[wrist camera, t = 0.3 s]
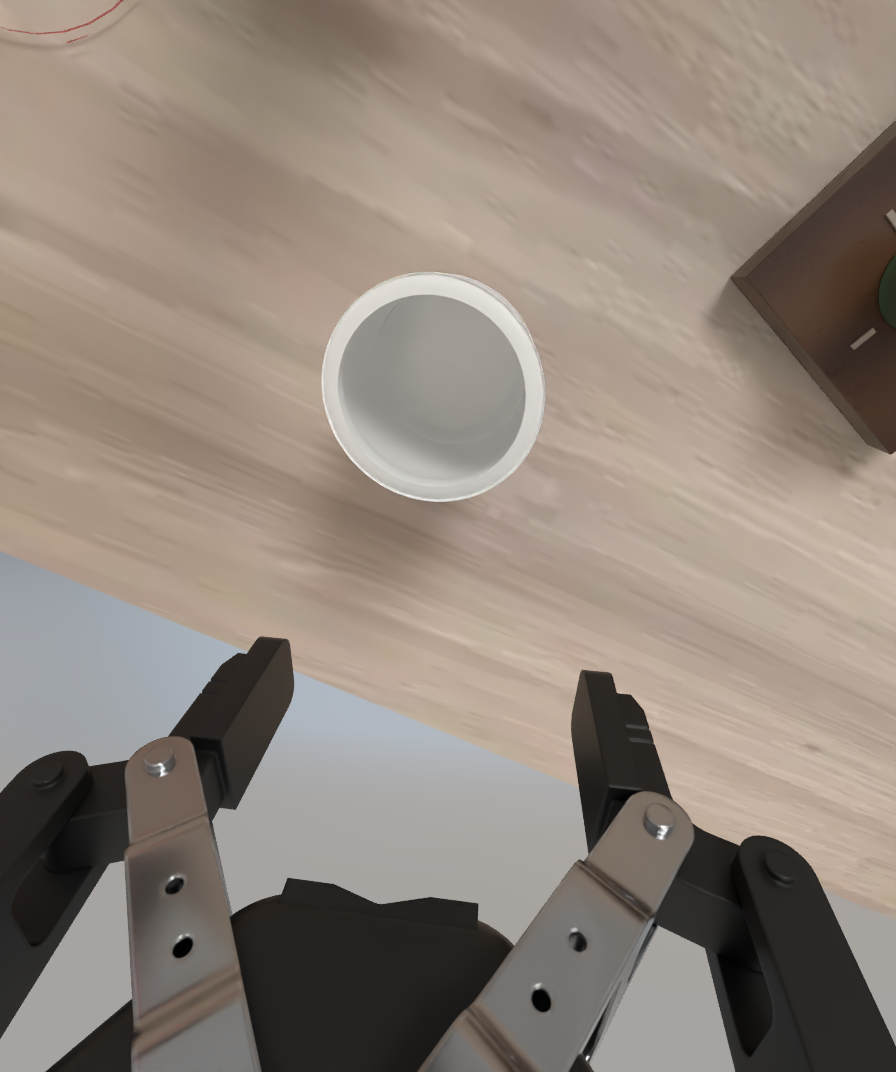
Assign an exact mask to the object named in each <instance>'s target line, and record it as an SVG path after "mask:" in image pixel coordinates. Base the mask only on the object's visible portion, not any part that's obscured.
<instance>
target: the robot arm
mask: <svg viewBox="0 0 896 1072" xmlns="http://www.w3.org/2000/svg"><path fill="white" fill-rule="evenodd" d="M293 691H294V676H293V667H292V658H291V649H290V643H289V641H288V640H287V639H281V638H271V637H259V638H258V639H257V640H256V641H255V643H254V644H253V646H252V647H251V648H250V650H249V651H248V653H247V654H242V653H238V654H236V655H235V656H233V657H232V658H230V659H229V660H228V661H226V662H225V663H223V664H222V665H221V666H220V667H219V669H218V670H217V672H216V673H215V674H214V676H213V677H212V678H211V681H210V682H208V684H207V685H206V686H205V688H204V689H203V691H202V694H201V693H200V694H199V696H198V697H197V698H196V700H195V701H194V702H193V704H192V705H191V707H190V708H189V709H188V710H187V712H186V713H185V714H184V716H183V717H182V718H181V720H180V721H179V722H178V724H177V725H176V727H175V728H174V729H173V730H172V732H171V733H170V734H169V736H168V737H164V738H160V739H157V740H154V741H152V742H150V743H148V744H146V745H145V746H143V747H141V748H140V749H139V750H138V751H136V752H135V753H134V755H133V756H132V757H131V758H130V760H126V761H121V762H114V763H108V764H101V765H95V766H88V763H87V760H86V758H85V757H84V756H83V755H82V754H81V753H78V752H76V751H60V752H56V753H52V754H49V755H46V756H44V757H42V758H39V759H38V760H36V761H34V762H32V763H31V764H29V765H28V766H26V767H25V768H24V769H23V770H21V772H19V773H18V774H17V775H16V776H15V778H14V779H13V780H12V781H11V782H10V783H9V784H8V785H7V786H6V787H5V788H4V789H3V791H2V792H1V793H0V1038H1V1037H2V1035H3V1033H4V1032H5V1030H6V1029H7V1027H8V1026H9V1024H10V1022H11V1021H12V1019H13V1018H14V1016H15V1014H16V1012H17V1011H18V1009H19V1008H20V1006H21V1005H22V1003H23V1001H24V1000H25V998H26V997H27V995H28V993H29V992H30V990H31V989H32V987H33V985H34V984H35V982H36V981H37V979H38V977H39V976H40V974H41V972H42V971H43V969H44V968H45V966H46V964H47V963H48V961H49V960H50V958H51V956H52V955H53V953H54V951H55V950H56V948H57V947H58V945H59V943H60V942H61V940H62V939H63V937H64V935H65V934H66V932H67V931H68V929H69V927H70V926H71V924H72V923H73V921H74V919H75V918H76V916H77V914H78V913H79V911H80V910H81V908H82V907H83V905H84V903H85V902H86V900H87V898H88V897H89V895H90V894H91V892H92V890H93V889H94V887H95V886H96V884H97V882H98V881H99V879H100V878H101V876H102V874H103V873H104V871H105V870H106V868H107V866H108V865H109V863H114V862H119V861H124V862H125V879H126V895H127V896H126V897H127V915H128V930H129V949H130V968H131V985H132V999H131V1000H130V1001H129V1002H127V1003H126V1004H125V1005H124V1006H123V1007H121V1008H120V1009H119V1010H118V1011H117V1012H116V1013H115V1014H113V1015H112V1016H111V1017H110V1018H109V1019H107V1020H106V1021H105V1022H104V1023H103V1024H101V1025H100V1026H99V1027H98V1028H97V1029H95V1030H94V1031H93V1032H92V1033H91V1034H90V1035H88V1036H87V1037H86V1038H85V1039H84V1040H82V1041H81V1042H80V1043H79V1044H78V1045H77V1046H75V1047H74V1048H73V1049H72V1050H71V1051H69V1052H68V1053H67V1054H66V1055H65V1056H63V1057H62V1058H61V1059H60V1060H59V1061H58V1062H56V1063H55V1064H54V1065H53V1066H52V1067H51V1068H49V1069H48V1070H47V1071H46V1072H594V1071H593V1070H592V1068H591V1066H590V1063H591V1061H592V1059H593V1058H594V1055H595V1054H596V1052H597V1050H598V1048H599V1046H600V1044H601V1042H602V1040H603V1038H604V1036H605V1034H606V1032H607V1030H608V1028H609V1025H610V1023H611V1021H612V1019H613V1017H614V1015H615V1013H616V1010H617V1008H618V1006H619V1004H620V1002H621V999H622V997H623V995H624V993H625V991H626V989H627V987H628V985H629V983H630V982H631V980H632V978H633V976H634V974H635V972H636V970H637V968H638V966H639V964H640V962H641V960H642V958H643V956H644V954H645V952H646V950H647V948H648V946H649V944H650V942H651V940H652V938H653V937H654V934H655V933H656V931H657V929H658V927H659V926H660V927H663V928H665V929H667V930H669V931H671V932H673V933H675V934H677V935H679V936H681V937H684V938H685V939H687V940H690V941H691V942H694V943H696V944H698V945H700V946H702V947H704V948H705V950H706V954H707V958H708V962H709V966H710V970H711V974H712V978H713V982H714V987H715V991H716V994H717V999H718V1003H719V1007H720V1011H721V1015H722V1019H723V1023H724V1027H725V1031H726V1035H727V1040H728V1044H729V1048H730V1052H731V1056H732V1059H733V1064H734V1068H735V1072H896V1046H895V1044H894V1042H893V1039H892V1037H891V1035H890V1033H889V1031H888V1029H887V1026H886V1024H885V1023H884V1020H883V1018H882V1016H881V1014H880V1011H879V1009H878V1007H877V1005H876V1003H875V1001H874V998H873V996H872V994H871V992H870V990H869V988H868V986H867V983H866V981H865V979H864V977H863V975H862V973H861V971H860V968H859V966H858V964H857V962H856V960H855V958H854V956H853V953H852V951H851V949H850V947H849V945H848V943H847V940H846V938H845V936H844V934H843V932H842V930H841V927H840V925H839V923H838V921H837V919H836V917H835V915H834V912H833V910H832V908H831V906H830V904H829V902H828V899H827V897H826V895H825V893H824V891H823V889H822V886H821V884H820V882H819V880H818V878H817V876H816V874H815V872H814V870H813V869H812V868H811V866H810V865H809V864H808V862H807V861H806V860H805V859H804V858H803V857H802V856H801V855H800V854H799V853H798V852H796V851H795V850H794V849H792V848H791V847H789V846H788V845H786V844H785V843H783V842H781V841H779V840H776V839H773V838H771V837H766V836H751V837H748V838H747V839H745V840H744V841H743V842H742V843H741V845H740V846H739V845H737V844H734V843H732V842H729V841H727V840H724V839H722V838H719V837H717V836H714V835H712V834H710V833H708V832H705V831H703V830H702V829H700V828H698V827H697V826H695V825H694V824H693V823H692V822H691V819H690V818H689V816H688V815H687V813H686V812H685V811H684V810H683V808H682V807H681V806H679V805H678V804H677V803H676V802H675V801H673V799H672V797H671V794H670V791H669V788H668V785H667V781H666V778H665V775H664V772H663V769H662V766H661V763H660V760H659V756H658V753H657V750H656V747H655V745H654V744H653V738H652V735H651V732H650V731H649V725H648V722H647V719H646V716H645V713H644V710H643V709H642V708H641V707H640V705H639V704H638V703H637V702H636V700H635V699H634V698H633V697H632V696H631V695H628V694H618V693H617V692H616V688H615V684H614V680H613V677H612V674H611V673H609V672H599V671H589V670H582V671H581V673H580V677H579V682H578V687H577V692H576V696H575V701H574V706H573V711H572V720H571V734H572V742H573V749H574V756H575V763H576V770H577V777H578V784H579V791H580V797H581V805H582V812H583V819H584V825H585V832H586V839H587V846H588V853H589V855H588V857H587V858H586V859H585V860H584V861H582V860H578V861H577V862H576V863H574V865H573V866H572V867H571V869H570V870H569V871H568V873H567V874H566V875H565V877H564V878H563V879H562V881H561V882H560V884H559V885H558V886H557V888H556V889H555V891H554V892H553V893H552V895H551V896H550V897H549V899H548V900H547V902H546V903H545V904H544V906H543V907H542V909H541V910H540V911H539V913H538V914H537V916H536V917H535V918H534V920H533V921H532V922H531V924H530V925H529V927H528V928H527V929H526V931H525V932H524V934H523V935H522V936H521V938H520V939H519V940H518V942H517V943H516V945H515V946H514V945H513V944H512V943H511V942H510V941H509V940H508V939H507V938H506V937H504V936H503V935H502V934H500V932H498V931H497V930H495V929H494V928H492V927H490V926H489V925H487V924H485V923H483V922H481V921H479V920H478V904H477V903H470V902H463V901H455V900H447V899H440V898H433V897H428V898H422V899H415V900H408V901H401V902H395V903H387V904H377V903H374V902H372V901H369V900H367V899H365V898H363V897H361V896H358V895H356V894H354V893H352V892H350V891H347V890H345V889H343V888H341V887H339V886H337V885H334V884H328V883H322V882H314V881H307V880H299V879H292V878H288V879H287V881H286V884H285V887H284V889H283V892H282V894H281V895H276V896H272V897H268V898H265V899H262V900H259V901H257V902H254V903H252V904H250V905H248V906H246V907H244V908H243V909H241V910H239V911H238V912H236V913H235V914H233V915H232V910H231V906H230V902H229V897H228V893H227V888H226V884H225V879H224V874H223V870H222V865H221V861H220V856H219V851H218V847H217V842H216V837H215V833H214V828H213V824H212V820H213V819H214V817H215V815H216V813H217V811H218V809H219V808H227V809H234V810H236V808H237V806H238V804H239V802H240V800H241V798H242V796H243V795H244V793H245V791H246V789H247V787H248V785H249V783H250V781H251V779H252V777H253V775H254V773H255V771H256V769H257V767H258V765H259V763H260V762H261V760H262V757H263V756H264V754H265V752H266V750H267V748H268V746H269V744H270V742H271V740H272V738H273V736H274V734H275V732H276V730H277V728H278V726H279V724H280V723H281V721H282V718H283V717H284V715H285V713H286V711H287V709H288V707H289V704H290V703H291V700H292V696H293Z"/></svg>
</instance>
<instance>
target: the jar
mask: <svg viewBox="0 0 896 1072" xmlns="http://www.w3.org/2000/svg"><path fill="white" fill-rule="evenodd" d="M322 395H323V402H324V407H325V411H326V414H327V418H328V421H329V423H330V426H331V428H332V431H333V433H334V435H335V437H336V439H337V440H338V442H339V444H340V445H341V447H342V448H343V450H344V451H345V453H346V454H347V455H348V457H349V458H350V459H351V460H352V461H353V462H354V464H355V465H356V466H357V467H358V468H359V469H360V470H361V471H363V472H364V473H365V474H366V475H367V476H369V477H370V478H371V479H372V480H374V481H375V482H377V483H378V484H380V485H382V486H383V487H385V488H387V489H389V490H391V491H393V492H395V493H398V494H400V495H403V496H406V497H410V498H413V499H418V500H423V501H433V502H447V501H456V500H462V499H466V498H470V497H473V496H476V495H479V494H481V493H483V492H485V491H487V490H489V489H491V488H493V487H495V486H496V485H498V484H499V483H501V482H502V481H503V480H505V479H506V478H507V477H508V476H510V475H511V474H512V473H513V472H514V471H515V470H516V469H517V468H518V467H519V465H520V464H521V463H522V462H523V460H524V459H525V458H526V456H527V455H528V453H529V452H530V450H531V448H532V446H533V444H534V442H535V440H536V438H537V435H538V433H539V430H540V427H541V423H542V419H543V414H544V408H545V380H544V373H543V368H542V364H541V360H540V357H539V354H538V351H537V349H536V346H535V344H534V342H533V339H532V337H531V334H530V332H529V330H528V328H527V326H526V324H525V322H524V321H523V319H522V317H521V316H520V315H519V313H518V312H517V311H516V309H515V308H514V307H513V306H512V305H511V304H510V303H509V302H508V301H507V300H506V299H505V298H504V297H503V296H502V295H500V294H499V293H498V292H497V291H495V290H494V289H492V288H491V287H489V286H487V285H485V284H483V283H481V282H479V281H477V280H474V279H471V278H468V277H465V276H461V275H455V274H446V273H439V272H416V273H410V274H405V275H401V276H397V277H394V278H391V279H389V280H386V281H384V282H382V283H380V284H378V285H376V286H374V287H373V288H371V289H370V290H368V291H367V292H365V293H364V294H363V295H362V296H360V297H359V298H358V299H357V300H356V301H355V302H354V303H353V304H352V305H351V306H350V307H349V308H348V309H347V310H346V311H345V313H344V314H343V315H342V317H341V318H340V320H339V321H338V323H337V325H336V326H335V328H334V330H333V332H332V334H331V337H330V339H329V342H328V344H327V348H326V351H325V355H324V360H323V366H322Z"/></svg>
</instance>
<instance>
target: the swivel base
mask: <svg viewBox="0 0 896 1072" xmlns="http://www.w3.org/2000/svg"><path fill="white" fill-rule="evenodd" d="M895 254H896V121H895V122H894V123H893V124H892V125H891V126H889V127H888V128H887V129H886V130H885V131H884V132H883V133H882V134H881V135H880V136H879V137H878V138H877V139H876V140H875V141H874V142H873V143H872V144H870V145H869V146H868V147H867V148H866V149H865V150H864V151H863V152H862V153H861V154H860V155H859V156H858V157H857V158H856V159H855V160H854V161H853V162H851V163H850V164H849V165H848V166H847V167H846V168H845V169H844V170H843V171H842V172H841V173H840V174H839V175H838V176H837V177H836V178H835V179H834V180H832V181H831V182H830V183H829V184H828V185H827V186H826V187H825V188H824V189H823V190H822V191H821V192H820V193H819V194H818V195H817V196H816V197H815V198H813V199H812V200H811V201H810V202H809V203H808V204H807V205H806V206H805V207H804V208H803V209H802V210H801V211H800V212H799V213H798V214H797V215H796V216H794V217H793V218H792V219H791V220H790V221H789V222H788V223H787V224H786V225H785V226H784V227H783V228H782V229H781V230H780V231H779V232H778V233H777V234H775V235H774V236H773V237H772V238H771V239H770V240H769V241H768V242H767V243H766V244H765V245H764V246H763V247H762V248H761V249H760V250H759V251H758V252H756V253H755V254H754V255H753V256H752V257H751V258H750V259H749V260H748V261H747V262H746V263H745V264H744V265H743V266H742V267H741V268H740V269H739V270H737V271H736V272H735V273H734V274H733V275H732V276H731V279H732V280H733V282H734V283H735V284H736V285H737V286H738V288H739V289H740V290H741V291H742V292H743V294H744V295H745V296H746V297H747V299H748V300H749V301H750V302H751V303H752V305H753V306H754V307H755V308H756V309H757V311H758V312H759V313H760V314H761V315H762V317H763V318H764V319H765V320H766V322H767V323H768V324H769V325H770V326H771V328H772V329H773V330H774V331H775V332H776V334H777V335H778V336H779V337H780V339H781V340H782V341H783V342H784V343H785V345H786V346H787V347H788V348H789V349H790V351H791V352H792V353H793V354H794V356H795V357H796V358H797V359H798V360H799V362H800V363H801V364H802V365H803V366H804V368H805V369H806V370H807V371H808V373H809V374H810V375H811V376H812V377H813V379H814V380H815V381H816V382H817V383H818V385H819V386H820V387H821V388H822V390H823V391H824V392H825V393H826V394H827V396H828V397H829V398H830V399H831V400H832V402H833V403H834V404H835V405H836V407H837V408H838V409H839V410H840V411H841V413H842V414H843V415H844V416H845V417H846V419H847V420H848V421H849V422H850V424H851V425H852V426H853V427H854V428H855V430H856V431H857V432H858V433H859V434H860V436H861V437H862V438H863V439H864V441H865V442H866V443H867V444H868V445H870V446H872V447H875V448H877V449H879V450H881V451H884V452H886V453H888V454H893V453H894V452H895V451H896V329H894V328H893V327H891V326H890V325H889V324H888V323H887V322H886V320H885V319H884V317H883V316H882V313H881V311H880V307H879V288H880V283H881V280H882V277H883V274H884V272H885V270H886V268H887V266H888V265H889V263H890V261H891V260H892V258H893V257H894V256H895Z"/></svg>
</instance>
